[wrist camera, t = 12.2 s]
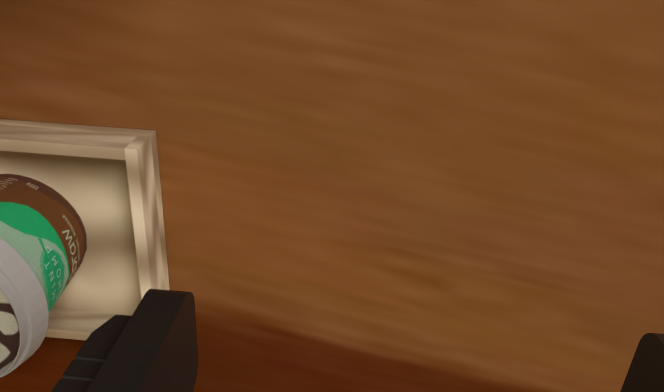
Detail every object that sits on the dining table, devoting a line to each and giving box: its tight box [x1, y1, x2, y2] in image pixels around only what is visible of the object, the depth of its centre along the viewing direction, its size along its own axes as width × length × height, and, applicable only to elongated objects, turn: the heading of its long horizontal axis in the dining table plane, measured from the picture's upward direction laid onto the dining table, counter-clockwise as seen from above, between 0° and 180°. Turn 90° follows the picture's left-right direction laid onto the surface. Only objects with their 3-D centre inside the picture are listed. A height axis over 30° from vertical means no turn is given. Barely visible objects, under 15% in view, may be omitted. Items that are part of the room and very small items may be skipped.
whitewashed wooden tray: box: [0, 119, 170, 340], centre depth 41 cm, size 16×16×4 cm
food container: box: [0, 174, 87, 378], centre depth 37 cm, size 12×6×10 cm, turn 7°
